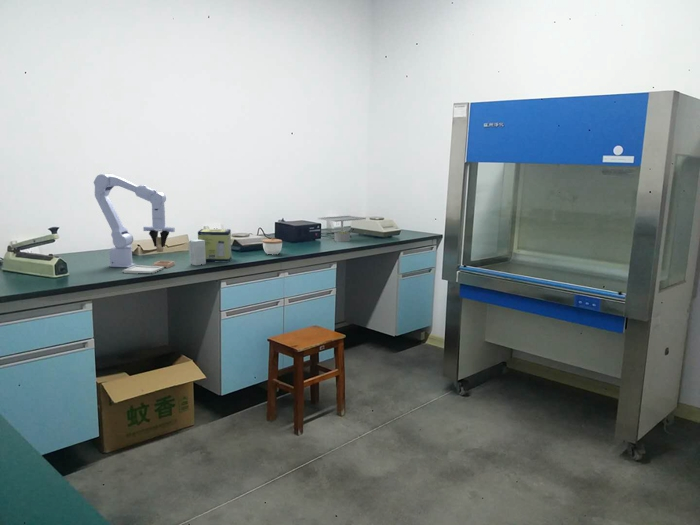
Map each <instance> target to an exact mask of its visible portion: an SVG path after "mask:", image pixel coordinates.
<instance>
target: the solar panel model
mask: <svg viewBox="0 0 700 525" xmlns="http://www.w3.org/2000/svg"><path fill="white" fill-rule="evenodd" d="M317 220H319V221H328V222H334V223H335V222H336V223H337V222H338V223H339V222H340V231H334V242H337V241H338V243H343V242H350V241H351V232H350V231H344V222H349V221H361V220H367V217H362V216H354V215H339V216H327V217H325V216H324V217H317Z"/></svg>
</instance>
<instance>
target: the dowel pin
mask: <svg viewBox="0 0 700 525" xmlns="http://www.w3.org/2000/svg"><path fill="white" fill-rule="evenodd" d="M155 248H156V253H163V252H164V247H162V245H161V236H158V237H156V247H155Z"/></svg>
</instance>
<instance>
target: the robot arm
mask: <svg viewBox="0 0 700 525" xmlns="http://www.w3.org/2000/svg"><path fill="white" fill-rule="evenodd" d="M93 185H94V198H95V199H96V201H97V203H98V206H99V207H100V209H101V212H102V213H103V215H104V217H105V220H106V222H107V224H108V225H109V228H110V229H111V234H110V235H111V237H112V244H113V247H111V248H110V250H109V264H110V265H109V267H111V268H129V267H132V266H135V265H137V263H134V262H133V251H132V250H133V247H132V244H133V242H134V236H133V235H132V234H131V233H130V232H129V231H128V229H127V228H126V227H125V226H124V225H123V224H122V222H121V218H120V217H119V216H118V213H117V211H116V208H115V207H114V205H113V203H112V201H111V199H110V198H109V197H110V196H109V195H110V192H111V190H112V189H113V188H114V187H121V188H123V189H124V190H125V189H126V190H128V191H131V192H132V193H135V196H136V197H138V198H140V199H143V200H145V201H147V202H150V204H151V217H152V220H151V221H152V225H151V226H143V228H142V230H143V232H148V235H149V236H150V238H151V240H152V242H153V246H154V247H155V248H156V237H159V236H158V235H159V234H160V237H161V245H162V247H163V248H164V247H166V242H167V239H168V236H169V234H170V233H175V230H176V229H175V227H170V226H169V227H168V226H166V211H165V210H166V208H165V203H166V201H167V197H166V195H165V193H163V192H162V191H157V190H156V189H152V188H150V187H148V186H147V185H146V184H140V185H136V184H135V183H132V182H131V181H129V180H126V179H125V178H122V177H120V176H119V175H114V174H112V173H106V174H97V175H96V177H95V179H94V181H93Z"/></svg>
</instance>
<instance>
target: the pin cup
mask: <svg viewBox="0 0 700 525" xmlns="http://www.w3.org/2000/svg"><path fill="white" fill-rule="evenodd" d="M175 263H176V262H175V261H174V260H158V261H155V262H154V263H153V264H152V266H162V267H166V269H169V268H171V267H173V266H175Z"/></svg>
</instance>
